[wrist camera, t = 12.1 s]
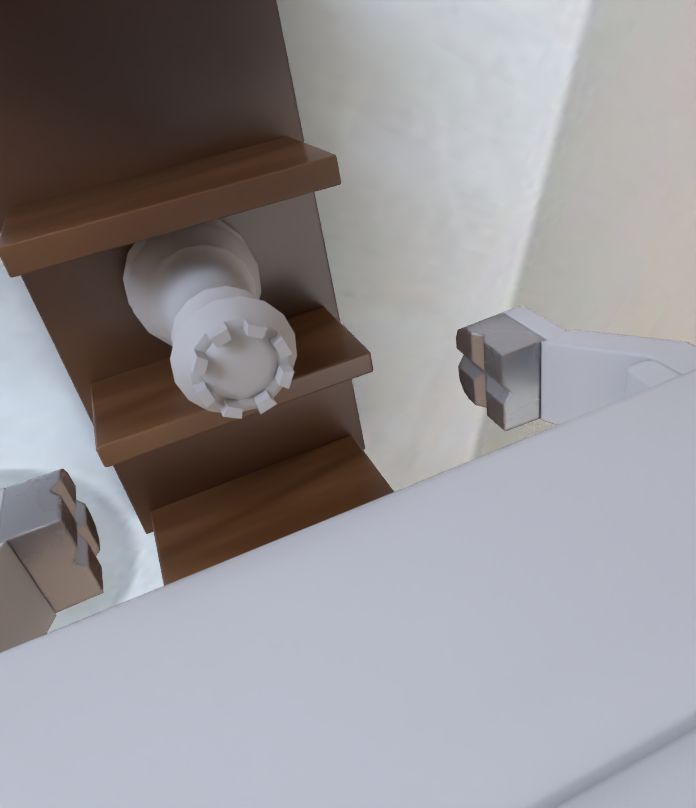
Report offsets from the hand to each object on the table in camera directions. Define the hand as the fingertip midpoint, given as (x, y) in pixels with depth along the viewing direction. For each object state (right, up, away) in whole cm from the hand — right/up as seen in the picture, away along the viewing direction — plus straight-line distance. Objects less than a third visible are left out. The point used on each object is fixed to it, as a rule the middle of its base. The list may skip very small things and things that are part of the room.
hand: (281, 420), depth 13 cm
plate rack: (-5, +5, +10) cm, 12 cm away
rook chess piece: (-4, +5, +9) cm, 11 cm away
